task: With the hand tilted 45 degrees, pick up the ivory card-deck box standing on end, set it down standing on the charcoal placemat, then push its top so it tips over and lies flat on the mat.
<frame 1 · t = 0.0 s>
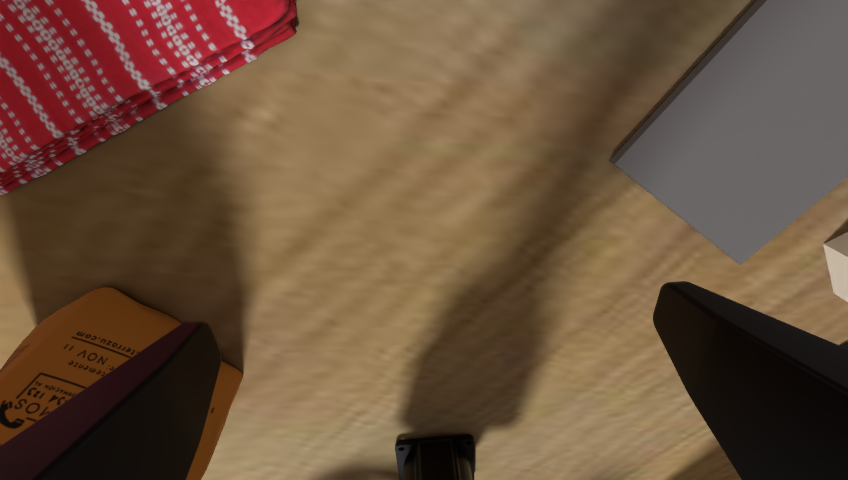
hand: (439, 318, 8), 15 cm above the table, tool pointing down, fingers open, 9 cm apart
placemat: (835, 65, 20), on the table
coffee package: (151, 359, 28), on the table
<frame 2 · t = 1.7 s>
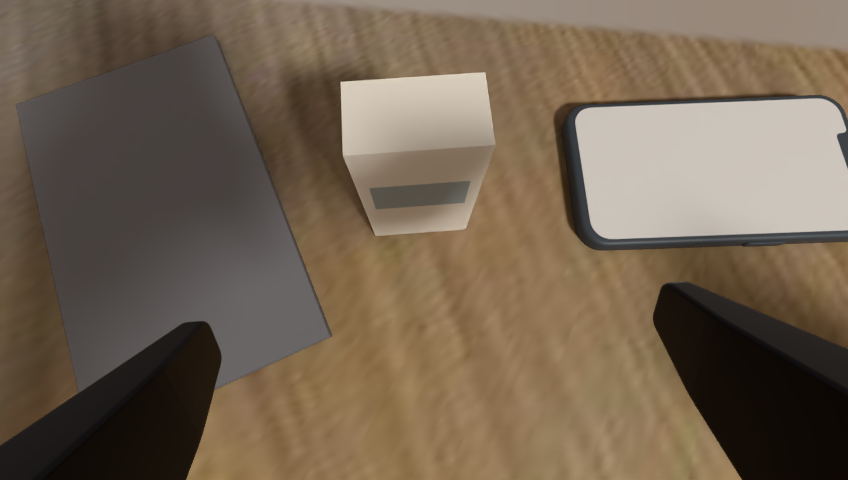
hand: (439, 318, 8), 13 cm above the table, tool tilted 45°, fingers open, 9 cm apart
deck box: (418, 208, 23), on the table
placemat: (167, 214, 23), on the table
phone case: (699, 178, 24), on the table
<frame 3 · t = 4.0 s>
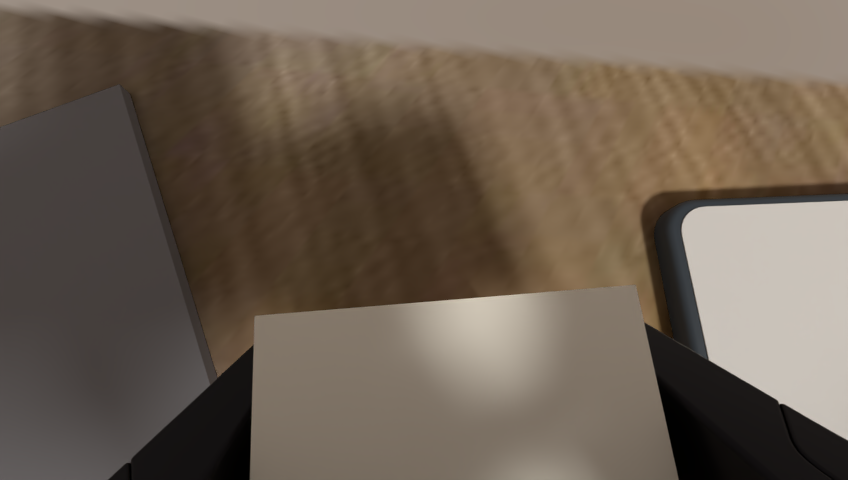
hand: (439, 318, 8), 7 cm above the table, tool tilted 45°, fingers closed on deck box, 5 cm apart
deck box: (435, 372, 14), on the table, touching gripper
placemat: (27, 385, 14), on the table
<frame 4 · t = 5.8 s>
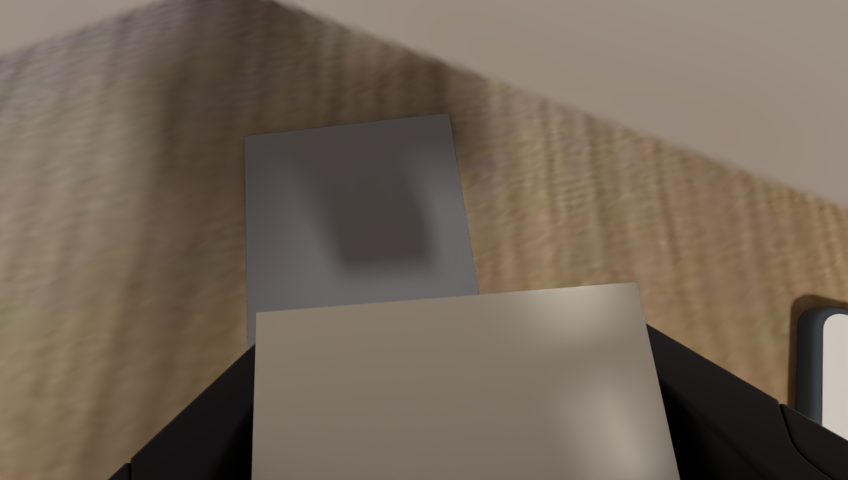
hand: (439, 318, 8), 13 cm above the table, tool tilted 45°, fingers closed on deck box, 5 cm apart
deck box: (435, 371, 14), point 7 cm above the table, touching gripper
placemat: (364, 295, 22), on the table
when the fingers open (8 cm above the table, at t = 7.8 s): deck box stays where it is, resting on placemat.
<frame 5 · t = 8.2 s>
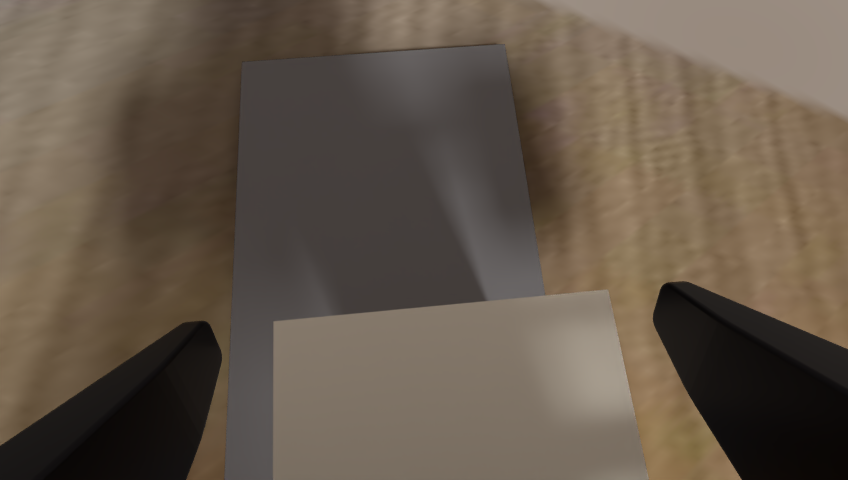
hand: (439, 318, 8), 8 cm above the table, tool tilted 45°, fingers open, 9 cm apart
deck box: (434, 371, 15), point 1 cm above the table, touching placemat
placemat: (388, 270, 16), on the table
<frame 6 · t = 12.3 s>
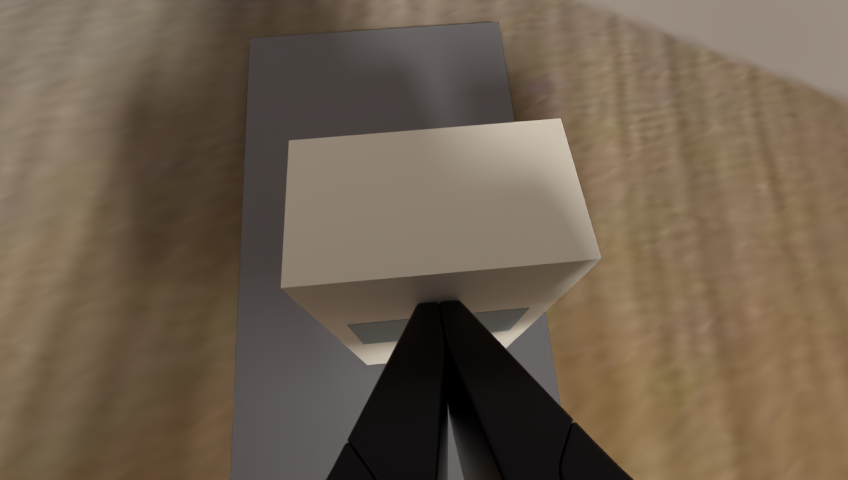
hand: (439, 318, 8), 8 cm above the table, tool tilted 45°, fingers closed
deck box: (431, 321, 15), point 1 cm above the table, tilted 8°, touching gripper, placemat
placemat: (387, 231, 17), on the table
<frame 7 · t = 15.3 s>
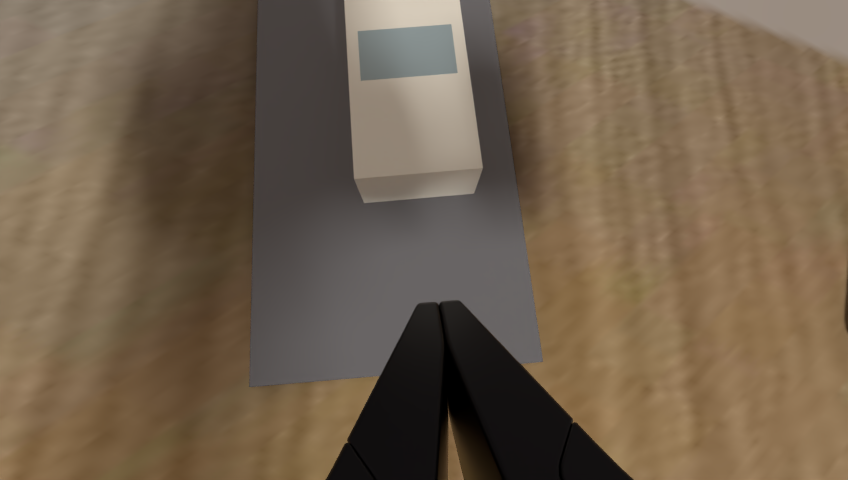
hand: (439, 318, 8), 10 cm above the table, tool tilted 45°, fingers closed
deck box: (419, 186, 17), point 2 cm above the table, tilted 90°, touching placemat
placemat: (384, 156, 19), on the table
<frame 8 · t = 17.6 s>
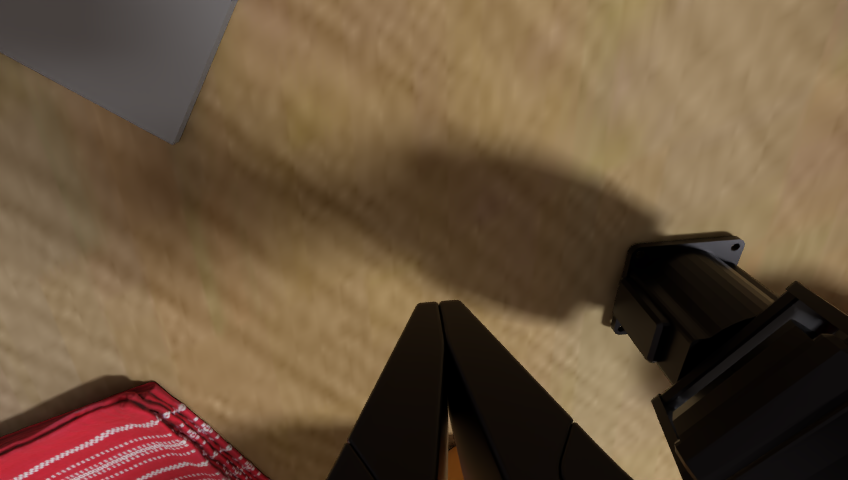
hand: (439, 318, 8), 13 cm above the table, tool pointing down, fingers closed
coffee package: (449, 479, 34), on the table
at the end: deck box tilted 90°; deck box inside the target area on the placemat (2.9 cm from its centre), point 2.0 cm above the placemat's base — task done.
